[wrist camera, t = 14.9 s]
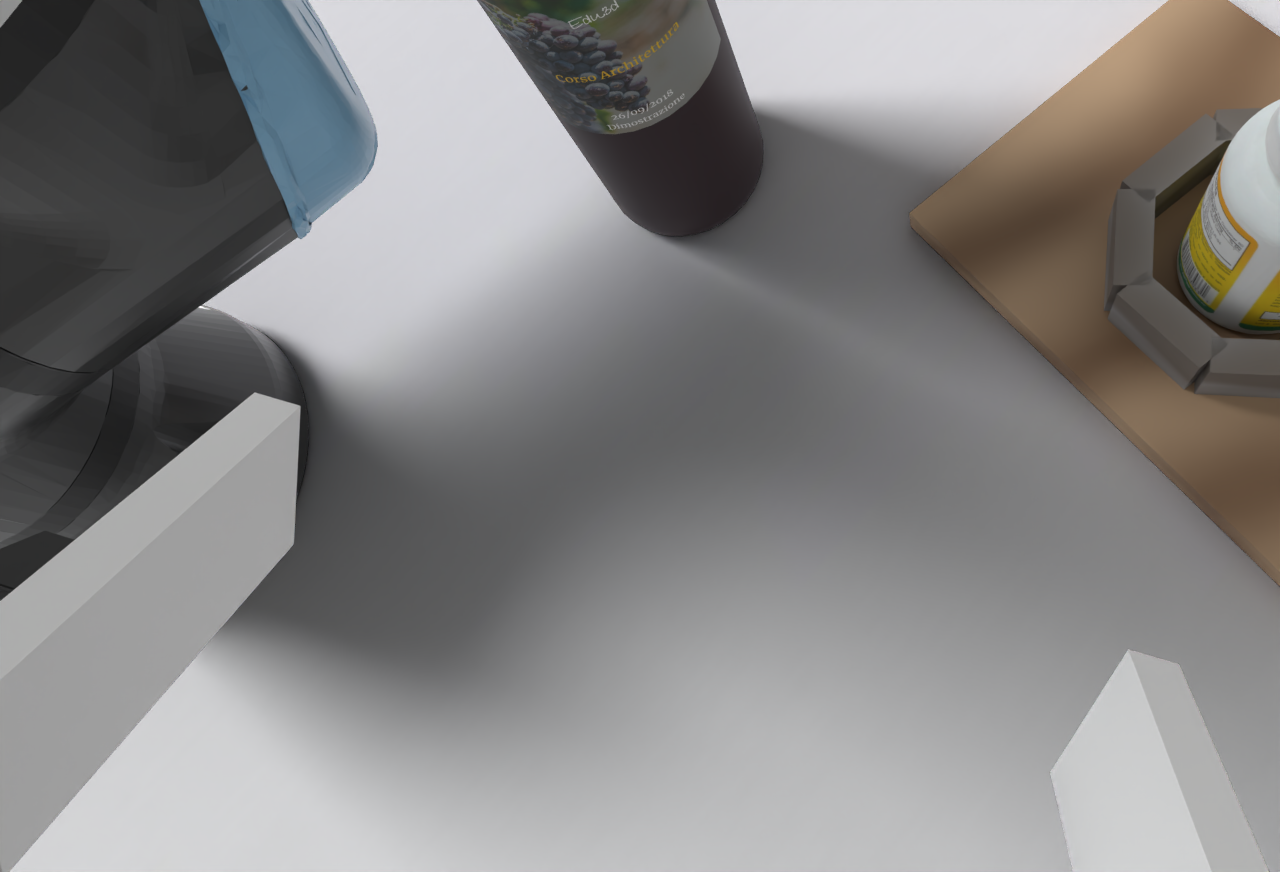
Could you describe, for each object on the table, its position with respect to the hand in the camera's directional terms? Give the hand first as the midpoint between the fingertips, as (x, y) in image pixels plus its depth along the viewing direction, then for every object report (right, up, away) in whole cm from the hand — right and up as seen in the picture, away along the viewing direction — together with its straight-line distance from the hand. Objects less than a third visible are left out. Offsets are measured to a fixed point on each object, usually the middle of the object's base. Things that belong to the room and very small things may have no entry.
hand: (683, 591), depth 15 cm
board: (+21, +8, +20) cm, 31 cm away
